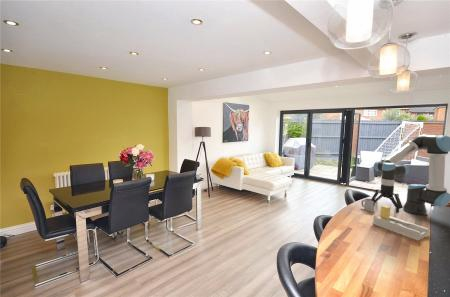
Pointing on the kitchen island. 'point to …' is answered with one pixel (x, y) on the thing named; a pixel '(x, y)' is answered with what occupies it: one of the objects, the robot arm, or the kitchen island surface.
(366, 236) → the kitchen island surface
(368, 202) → the cup
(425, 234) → the rail
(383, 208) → the yellow juice carton
